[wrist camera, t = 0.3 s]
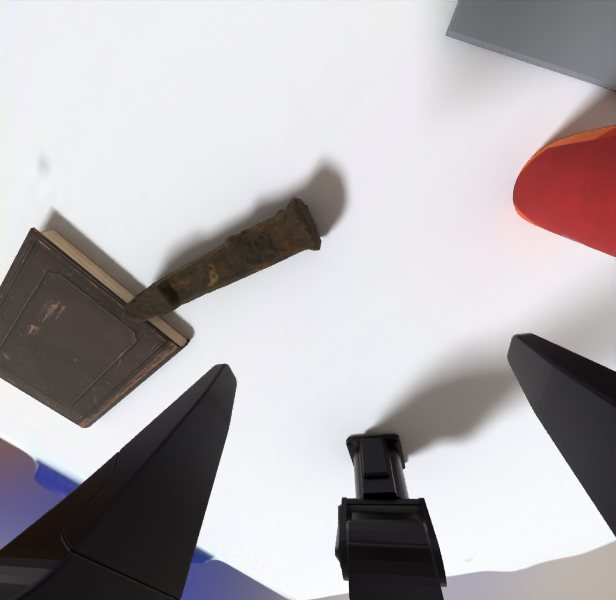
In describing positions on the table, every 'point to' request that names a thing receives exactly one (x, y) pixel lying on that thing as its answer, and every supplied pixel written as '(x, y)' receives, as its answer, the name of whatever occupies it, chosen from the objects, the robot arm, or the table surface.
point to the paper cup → (573, 189)
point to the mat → (545, 34)
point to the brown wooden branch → (230, 262)
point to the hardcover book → (74, 332)
